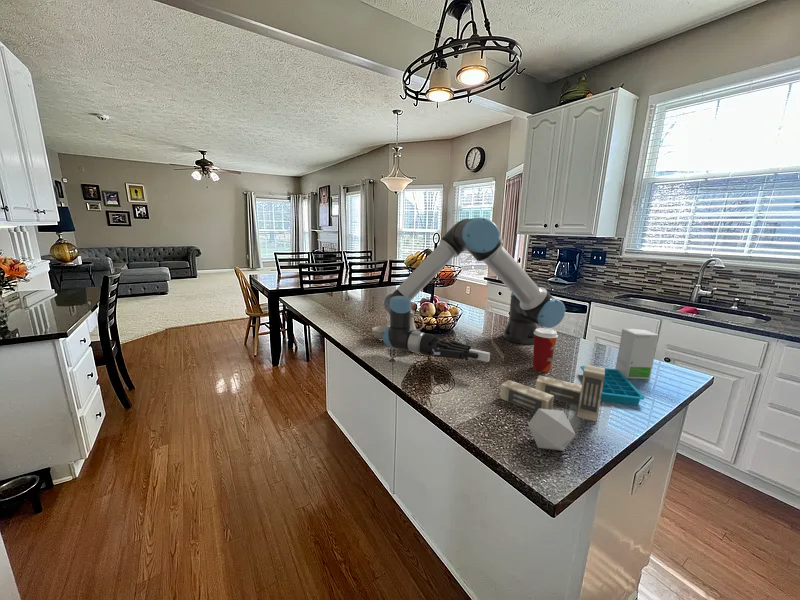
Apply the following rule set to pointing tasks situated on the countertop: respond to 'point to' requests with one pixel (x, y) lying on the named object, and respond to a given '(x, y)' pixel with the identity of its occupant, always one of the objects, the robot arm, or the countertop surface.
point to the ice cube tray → (618, 388)
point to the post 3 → (591, 392)
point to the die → (551, 429)
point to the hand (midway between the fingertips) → (489, 357)
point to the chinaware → (380, 330)
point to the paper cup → (543, 348)
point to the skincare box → (636, 353)
